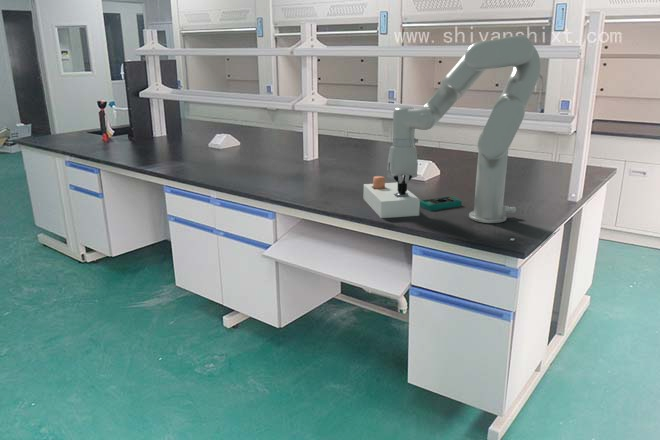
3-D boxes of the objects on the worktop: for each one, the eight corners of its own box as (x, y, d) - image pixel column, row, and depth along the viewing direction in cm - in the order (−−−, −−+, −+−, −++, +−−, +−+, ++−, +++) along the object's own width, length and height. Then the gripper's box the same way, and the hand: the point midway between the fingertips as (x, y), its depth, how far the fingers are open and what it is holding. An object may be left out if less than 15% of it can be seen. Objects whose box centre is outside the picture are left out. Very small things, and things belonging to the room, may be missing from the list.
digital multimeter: (463, 207, 198) (463, 199, 197) (429, 212, 192) (430, 204, 192) (451, 202, 205) (451, 195, 204) (418, 207, 199) (418, 199, 198)
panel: (397, 196, 211) (397, 182, 210) (419, 215, 187) (419, 199, 185) (363, 199, 209) (363, 184, 207) (380, 218, 185) (381, 201, 183)
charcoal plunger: (405, 206, 195) (405, 191, 193) (409, 209, 190) (409, 194, 189) (393, 207, 194) (394, 192, 192) (397, 210, 190) (397, 195, 188)
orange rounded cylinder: (382, 189, 205) (383, 175, 203) (386, 192, 201) (386, 178, 199) (371, 190, 204) (372, 176, 202) (374, 193, 200) (375, 178, 198)
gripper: (420, 140, 190) (418, 189, 195) (379, 142, 187) (379, 192, 193) (427, 143, 183) (425, 195, 188) (385, 145, 180) (384, 197, 186)
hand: (402, 193), depth 190 cm, fingers closed
